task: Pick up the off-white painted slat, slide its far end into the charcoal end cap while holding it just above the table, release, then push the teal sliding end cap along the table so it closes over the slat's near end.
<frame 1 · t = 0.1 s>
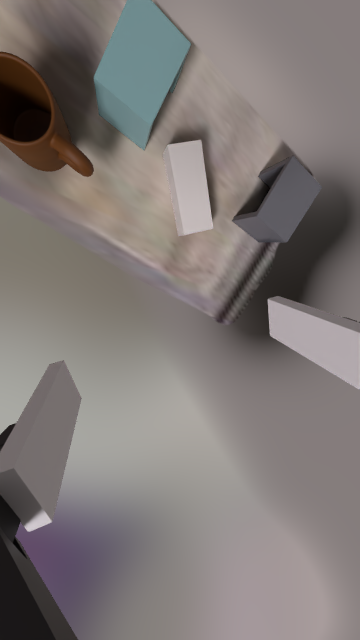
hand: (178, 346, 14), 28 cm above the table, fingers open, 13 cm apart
slat: (184, 195, 37), on the table
teal cap: (140, 82, 28), point 4 cm above the table, slide at 0.0 cm
charcoal cap: (259, 208, 41), on the table
mug: (58, 154, 31), on the table
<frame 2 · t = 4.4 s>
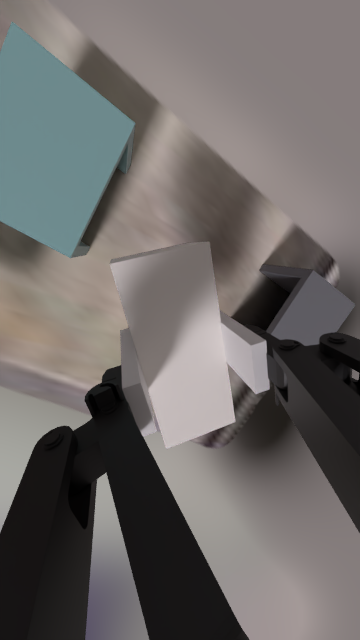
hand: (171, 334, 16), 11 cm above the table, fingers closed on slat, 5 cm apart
slat: (169, 334, 17), point 10 cm above the table, touching gripper
teal cap: (61, 175, 17), point 4 cm above the table, slide at 0.0 cm
charcoal cap: (261, 309, 29), on the table
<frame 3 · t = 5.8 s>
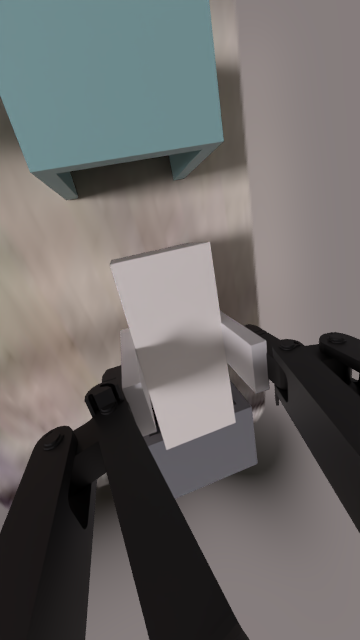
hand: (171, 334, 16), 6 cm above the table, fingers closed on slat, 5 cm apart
slat: (169, 334, 17), point 6 cm above the table, touching gripper
teal cap: (112, 106, 13), point 4 cm above the table, slide at 0.0 cm
charcoal cap: (181, 397, 26), on the table
when the fingers open (2 cm above the table, at t = 7.8 s): slat drops 2 cm, on the table.
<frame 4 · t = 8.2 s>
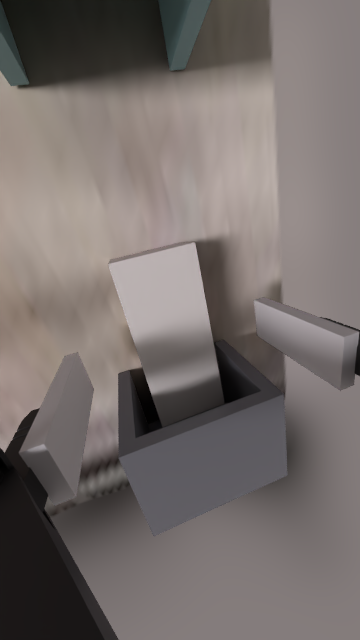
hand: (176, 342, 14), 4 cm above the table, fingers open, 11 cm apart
slat: (165, 325, 18), on the table
charcoal cap: (181, 388, 20), on the table
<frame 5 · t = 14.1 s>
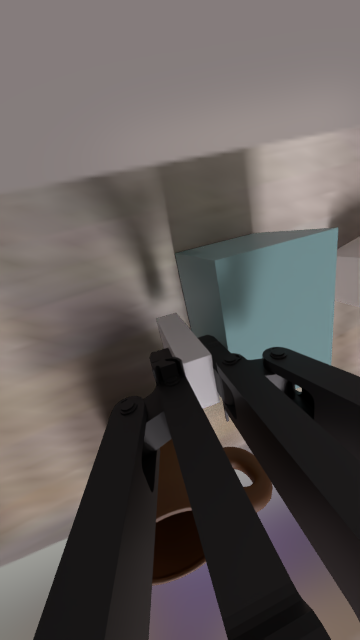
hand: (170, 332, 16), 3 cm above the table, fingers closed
teal cap: (247, 309, 16), point 4 cm above the table, slide at 1.4 cm, touching gripper
mug: (173, 425, 23), on the table
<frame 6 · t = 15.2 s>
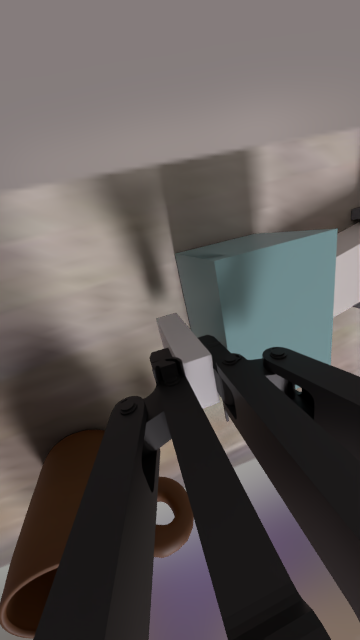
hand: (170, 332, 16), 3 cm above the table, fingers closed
slat: (322, 267, 22), on the table
teal cap: (247, 310, 16), point 4 cm above the table, slide at 7.8 cm, touching gripper
mug: (112, 449, 22), on the table
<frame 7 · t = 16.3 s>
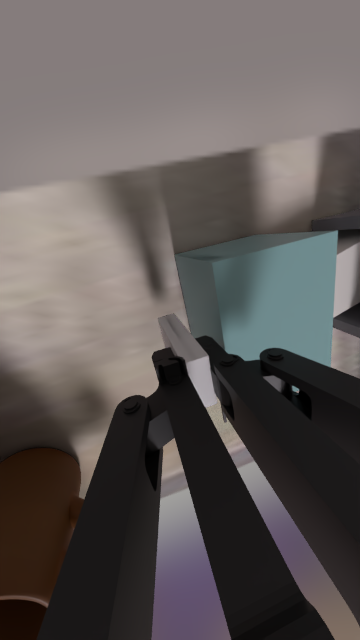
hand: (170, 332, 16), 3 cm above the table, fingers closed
slat: (306, 275, 21), on the table, touching charcoal cap, teal cap
teal cap: (246, 312, 16), point 4 cm above the table, slide at 12.3 cm, touching gripper, slat
charcoal cap: (341, 264, 22), on the table
mug: (64, 466, 22), on the table
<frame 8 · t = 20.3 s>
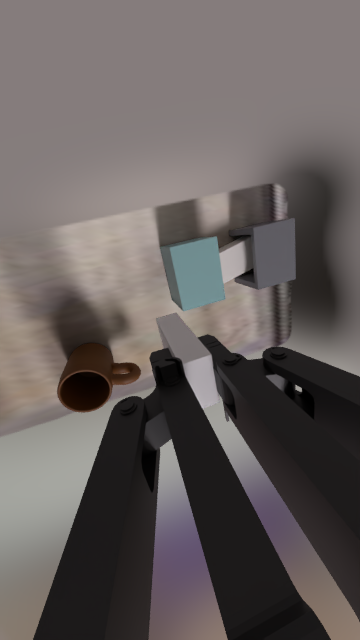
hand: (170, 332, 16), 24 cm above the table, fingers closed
slat: (229, 258, 42), on the table
teal cap: (191, 272, 36), point 4 cm above the table, slide at 12.2 cm
charcoal cap: (248, 253, 42), on the table
mug: (104, 357, 41), on the table
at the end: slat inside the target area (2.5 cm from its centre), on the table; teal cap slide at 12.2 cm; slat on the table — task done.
